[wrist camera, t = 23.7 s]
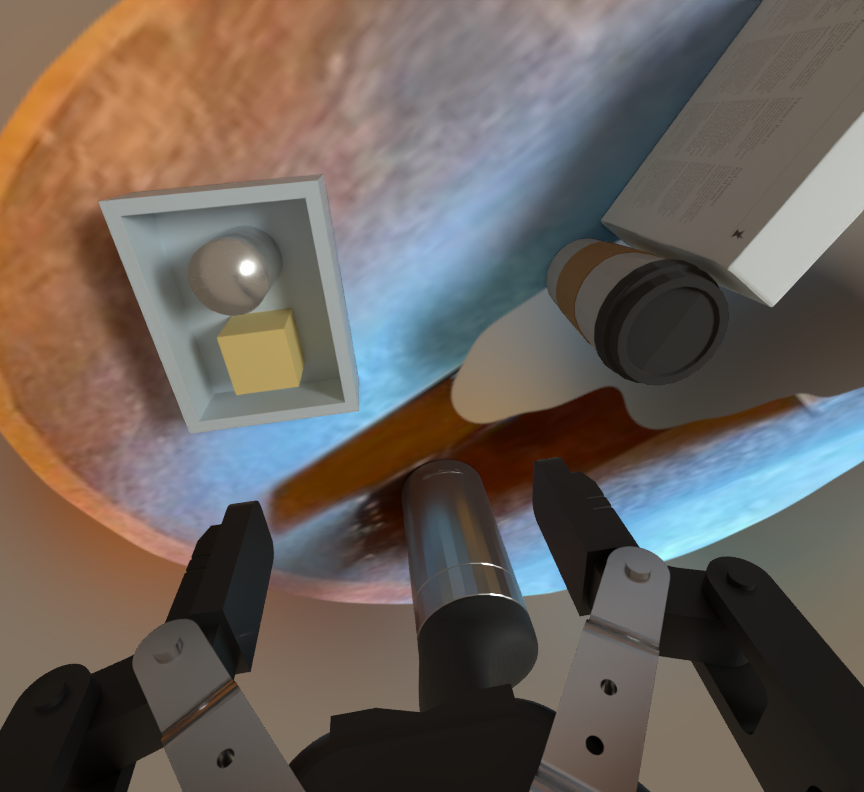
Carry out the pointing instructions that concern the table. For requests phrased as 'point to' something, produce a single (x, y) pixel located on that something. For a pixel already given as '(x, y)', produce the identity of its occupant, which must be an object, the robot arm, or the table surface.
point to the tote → (294, 288)
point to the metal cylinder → (235, 270)
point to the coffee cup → (639, 309)
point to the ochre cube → (262, 351)
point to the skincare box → (760, 154)
